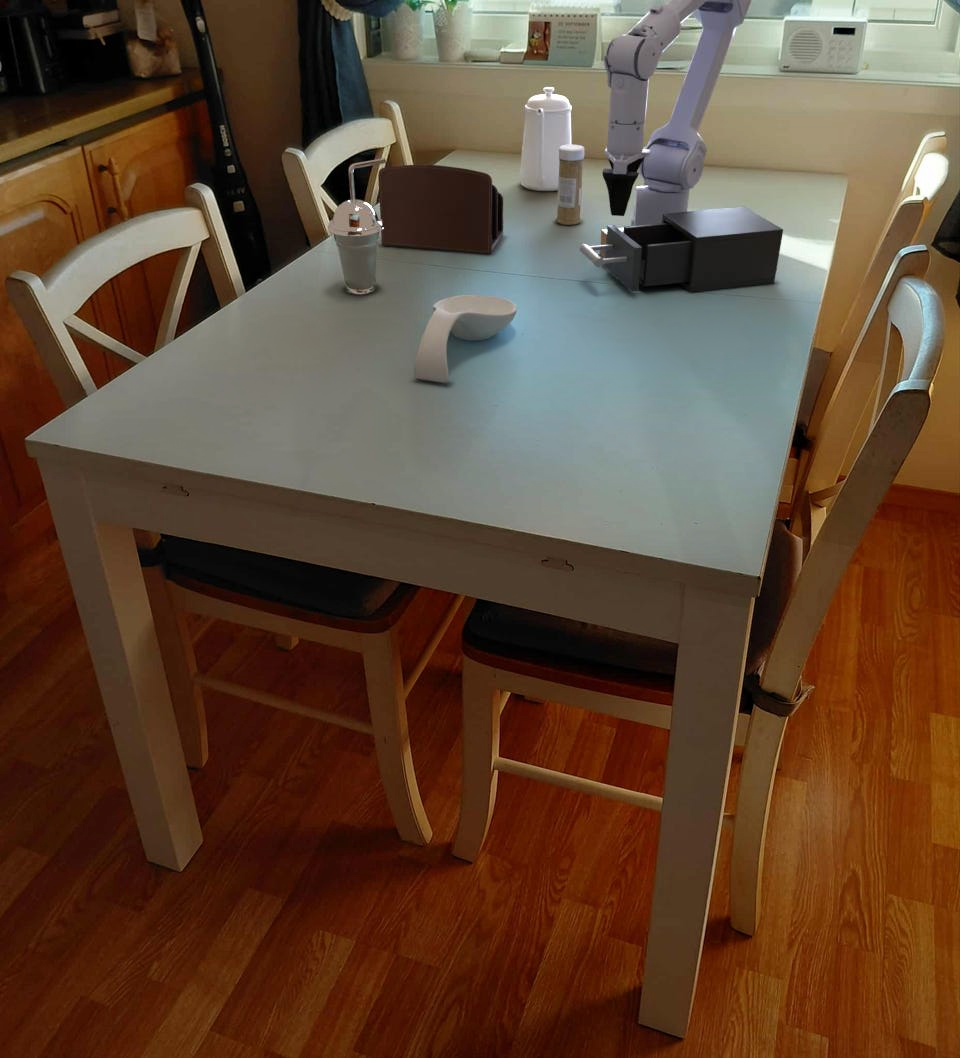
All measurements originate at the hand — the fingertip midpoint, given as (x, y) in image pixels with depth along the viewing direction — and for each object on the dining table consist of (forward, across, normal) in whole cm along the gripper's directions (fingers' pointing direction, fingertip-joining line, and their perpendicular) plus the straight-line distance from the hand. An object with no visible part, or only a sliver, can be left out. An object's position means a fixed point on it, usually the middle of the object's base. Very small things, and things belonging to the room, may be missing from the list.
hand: (620, 208), depth 161 cm
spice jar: (+9, +18, +11) cm, 23 cm away
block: (+8, 0, 0) cm, 8 cm away
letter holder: (+9, +3, +31) cm, 32 cm away
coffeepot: (+9, +42, +19) cm, 46 cm away
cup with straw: (+9, -22, +38) cm, 45 cm away
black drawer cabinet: (+8, -4, -16) cm, 19 cm away
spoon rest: (+9, -41, +17) cm, 45 cm away
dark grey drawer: (+8, -10, -5) cm, 14 cm away
